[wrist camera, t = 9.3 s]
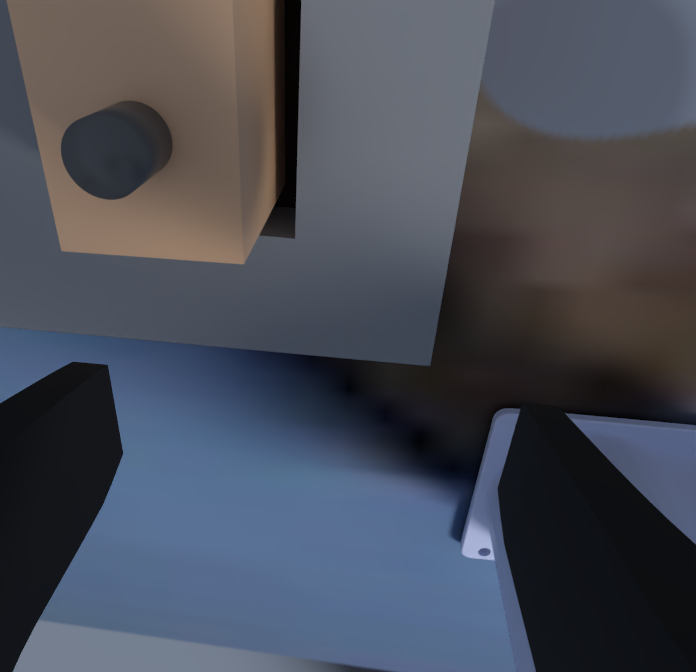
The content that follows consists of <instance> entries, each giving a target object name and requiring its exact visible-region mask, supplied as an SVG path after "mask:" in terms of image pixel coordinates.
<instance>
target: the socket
mask: <svg viewBox="0 0 696 672" xmlns="http://www.w3.org/2000/svg"><path fill="white" fill-rule="evenodd" d="M494 3H495V0H301V33H300V71H299V109H298V147H297V185H296V208H290V207H279V206H274V207H273V209H272V211H271V213H270V215H269V217H268V219H267V221H266V223H265V225H264V227H263V229H262V230H261V232H260V234H259V236H258V238H257V240H256V242H255V244H254V246H253V248H252V250H251V252H250V254H249V256H248V258H247V260H246V261H245V263H244V264H232V263H218V262H204V261H190V260H176V259H162V258H149V257H135V256H121V255H107V254H93V253H79V252H66V251H61V247H60V242H59V238H58V233H57V229H56V224H55V220H54V215H53V210H52V206H51V201H50V197H49V192H48V188H47V183H46V178H45V174H44V169H43V165H42V160H41V156H40V151H39V147H38V142H37V137H36V133H35V128H34V124H33V119H32V115H31V110H30V105H29V101H28V96H27V92H26V87H25V83H24V78H23V73H22V69H21V64H20V60H19V55H18V51H17V46H16V41H15V37H14V32H13V28H12V23H11V19H10V14H9V10H8V5H7V0H0V327H7V328H18V329H29V330H40V331H51V332H62V333H73V334H84V335H94V336H105V337H116V338H127V339H138V340H149V341H160V342H171V343H182V344H193V345H204V346H215V347H226V348H237V349H248V350H259V351H270V352H281V353H292V354H302V355H313V356H324V357H335V358H346V359H357V360H368V361H379V362H390V363H401V364H412V365H423V366H430V364H431V358H432V353H433V347H434V341H435V336H436V330H437V325H438V319H439V313H440V308H441V302H442V296H443V291H444V285H445V279H446V274H447V268H448V262H449V257H450V251H451V246H452V240H453V234H454V229H455V223H456V217H457V212H458V206H459V200H460V195H461V189H462V183H463V178H464V172H465V166H466V161H467V155H468V150H469V144H470V138H471V133H472V127H473V121H474V116H475V110H476V104H477V99H478V93H479V87H480V82H481V76H482V71H483V65H484V59H485V53H486V48H487V42H488V36H489V31H490V25H491V19H492V14H493V8H494Z"/></svg>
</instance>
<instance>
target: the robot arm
mask: <svg viewBox="0 0 696 672" xmlns="http://www.w3.org/2000/svg"><path fill="white" fill-rule="evenodd" d="M122 455H123V450H122V444H121V439H120V433H119V427H118V421H117V416H116V410H115V404H114V398H113V393H112V387H111V381H110V375H109V370H108V365H102V364H91V363H80V362H72V363H70V364H68V365H66V366H64V367H62V368H60V369H58V370H56V371H55V372H53V373H51V374H49V375H48V376H46V377H44V378H42V379H41V380H39V381H37V382H36V383H34V384H32V385H30V386H29V387H27V388H25V389H24V390H22V391H20V392H19V393H17V394H15V395H14V396H12V397H10V398H9V399H7V400H5V401H4V402H2V403H0V672H13V670H14V667H15V665H16V663H17V661H18V658H19V656H20V654H21V652H22V650H23V648H24V646H25V644H26V642H27V640H28V638H29V636H30V635H31V632H32V630H33V629H34V627H35V625H36V623H37V621H38V619H39V618H40V616H41V614H42V612H43V611H44V609H45V607H46V605H47V604H48V602H49V600H50V598H51V597H52V595H53V593H54V591H55V589H56V588H57V586H58V584H59V582H60V581H61V579H62V577H63V575H64V574H65V572H66V570H67V568H68V566H69V565H70V563H71V561H72V559H73V558H74V556H75V554H76V552H77V551H78V549H79V547H80V545H81V543H82V542H83V540H84V538H85V536H86V534H87V533H88V531H89V529H90V527H91V525H92V524H93V522H94V520H95V518H96V516H97V515H98V513H99V511H100V509H101V507H102V505H103V503H104V501H105V498H106V496H107V493H108V491H109V489H110V486H111V484H112V481H113V479H114V476H115V474H116V471H117V468H118V466H119V463H120V460H121V458H122ZM460 547H461V552H462V554H463V555H464V556H466V557H469V558H477V559H488V560H495V564H496V569H497V574H498V579H499V584H500V590H501V595H502V600H503V605H504V610H505V616H506V621H507V626H508V631H509V637H510V642H511V647H512V652H513V657H514V663H515V668H516V672H696V425H688V424H677V423H666V422H656V421H645V420H634V419H623V418H612V417H601V416H590V415H579V414H568V413H564V412H563V411H562V410H561V409H560V408H559V407H558V406H548V405H538V404H527V403H522V405H521V409H514V408H504V409H501V410H499V411H498V412H496V413H495V415H494V417H493V420H492V423H491V427H490V431H489V435H488V439H487V443H486V446H485V450H484V454H483V458H482V462H481V466H480V469H479V473H478V477H477V481H476V485H475V489H474V493H473V496H472V500H471V504H470V508H469V512H468V516H467V519H466V523H465V527H464V531H463V535H462V539H461V542H460ZM482 548H483V549H482Z"/></svg>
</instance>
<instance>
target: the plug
mask: <svg viewBox="0 0 696 672" xmlns="http://www.w3.org/2000/svg"><path fill="white" fill-rule="evenodd" d="M7 5H8V10H9V14H10V19H11V23H12V28H13V32H14V37H15V41H16V46H17V51H18V55H19V60H20V64H21V69H22V73H23V78H24V83H25V87H26V92H27V96H28V101H29V105H30V110H31V115H32V119H33V124H34V128H35V133H36V137H37V142H38V147H39V151H40V156H41V160H42V165H43V169H44V174H45V178H46V183H47V188H48V192H49V197H50V201H51V206H52V210H53V215H54V220H55V224H56V229H57V233H58V238H59V242H60V247H61V251H66V252H79V253H93V254H107V255H121V256H135V257H149V258H162V259H176V260H190V261H204V262H218V263H232V264H244V263H245V261H246V260H247V258H248V256H249V254H250V252H251V250H252V248H253V246H254V244H255V242H256V240H257V238H258V236H259V234H260V232H261V230H262V229H263V227H264V225H265V223H266V221H267V219H268V217H269V215H270V213H271V211H272V209H273V207H274V205H275V203H276V201H277V199H278V198H279V196H280V194H281V192H282V190H283V188H284V186H285V0H7Z"/></svg>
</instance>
